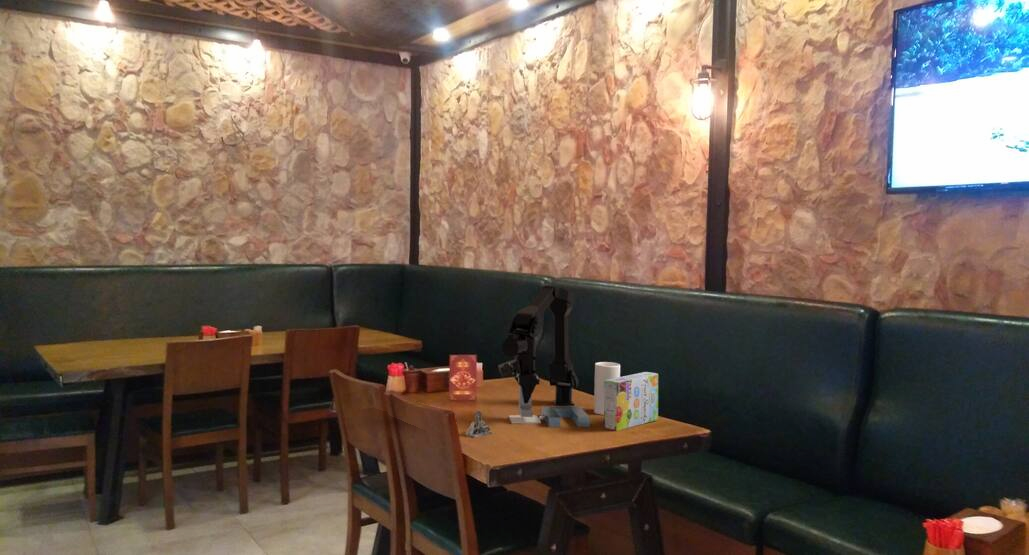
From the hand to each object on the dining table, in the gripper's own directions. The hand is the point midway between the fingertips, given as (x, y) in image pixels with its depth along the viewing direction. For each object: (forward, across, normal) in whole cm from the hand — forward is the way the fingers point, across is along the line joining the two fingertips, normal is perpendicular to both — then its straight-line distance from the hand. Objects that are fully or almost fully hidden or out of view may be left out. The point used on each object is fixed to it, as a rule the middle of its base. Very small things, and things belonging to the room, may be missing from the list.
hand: (525, 401), depth 248 cm
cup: (+6, -10, +28) cm, 31 cm away
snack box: (+6, +6, +32) cm, 34 cm away
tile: (+6, 0, 0) cm, 6 cm away
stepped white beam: (+4, 0, 0) cm, 4 cm away
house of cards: (+6, +15, -16) cm, 23 cm away
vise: (+6, +3, +12) cm, 14 cm away
